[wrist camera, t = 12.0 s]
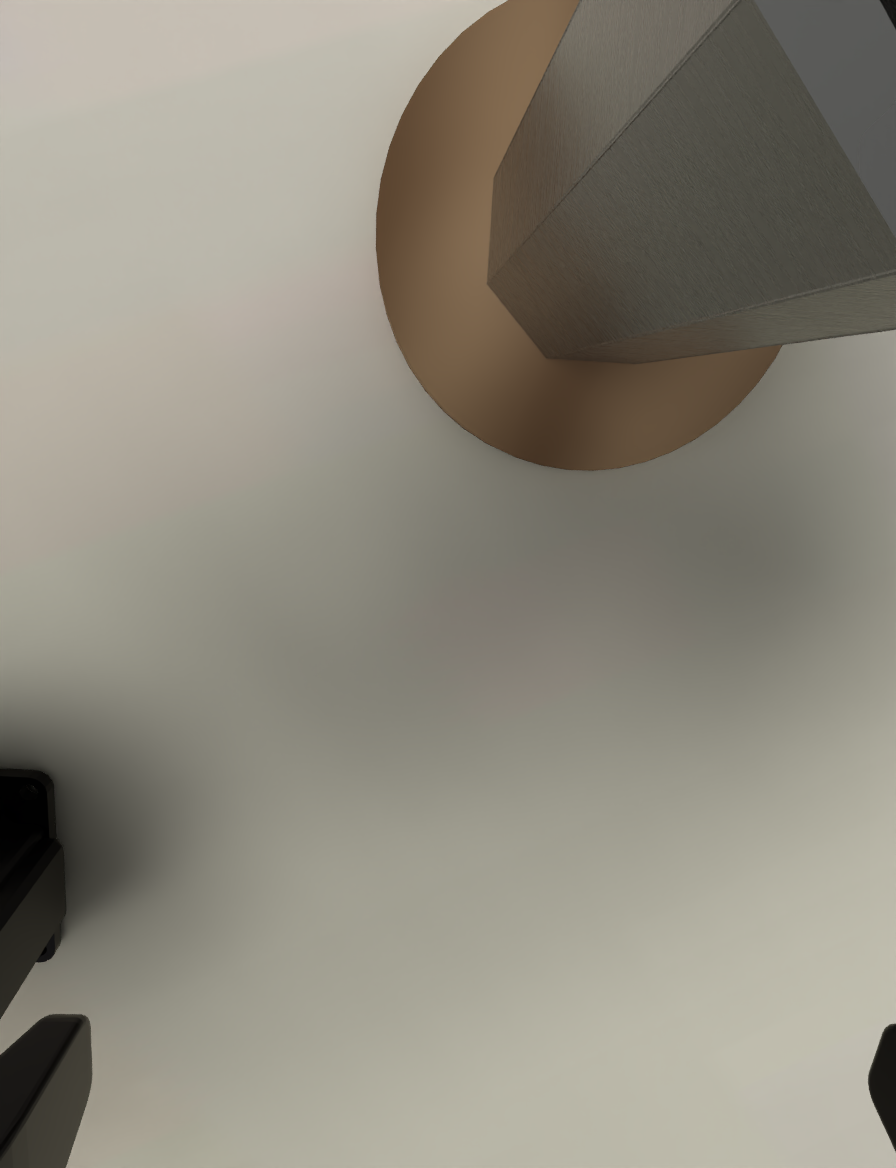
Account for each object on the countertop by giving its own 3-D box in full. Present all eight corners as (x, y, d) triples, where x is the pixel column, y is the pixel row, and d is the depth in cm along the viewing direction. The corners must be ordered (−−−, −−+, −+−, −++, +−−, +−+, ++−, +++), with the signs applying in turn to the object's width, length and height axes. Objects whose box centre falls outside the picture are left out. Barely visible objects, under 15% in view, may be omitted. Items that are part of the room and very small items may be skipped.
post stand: (360, 445, 18) (351, 462, 14) (395, -40, 16) (399, -229, 11) (742, 484, 20) (855, 512, 15) (839, 41, 17) (1015, -97, 12)
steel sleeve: (585, 408, 18) (1009, 432, 6) (441, 228, 16) (597, -257, 4) (756, 253, 17) (1651, -92, 5) (622, 51, 16) (1423, -1121, 4)
